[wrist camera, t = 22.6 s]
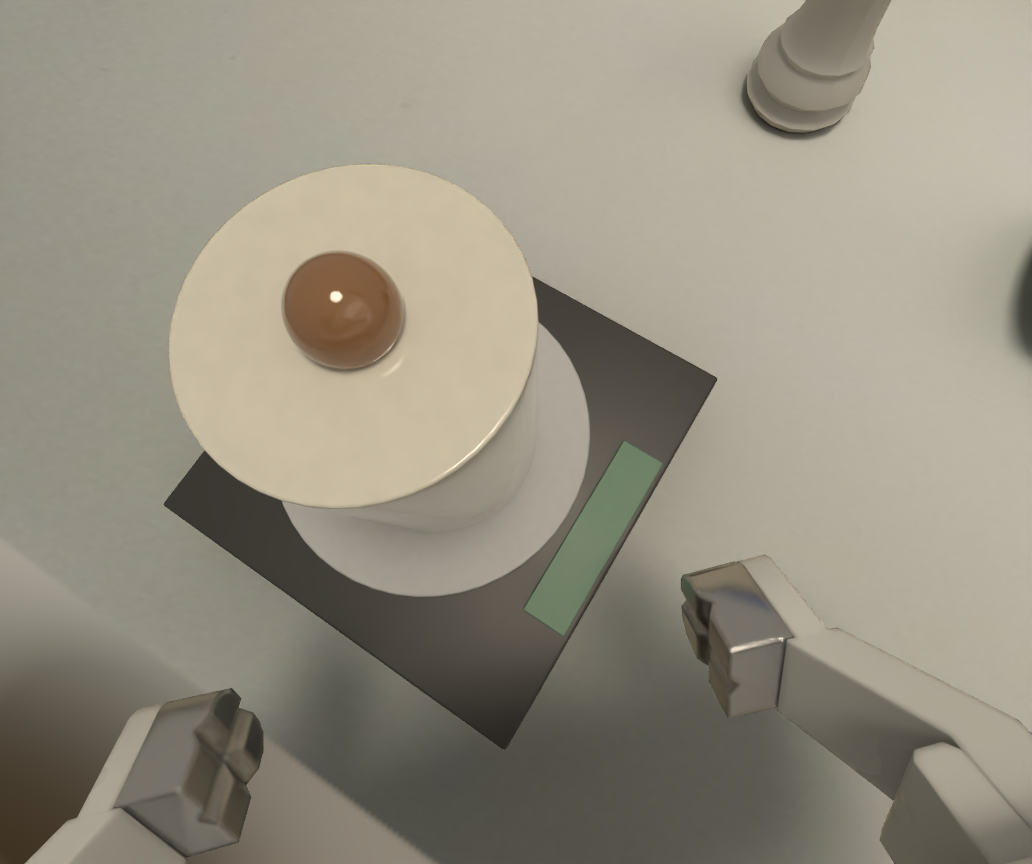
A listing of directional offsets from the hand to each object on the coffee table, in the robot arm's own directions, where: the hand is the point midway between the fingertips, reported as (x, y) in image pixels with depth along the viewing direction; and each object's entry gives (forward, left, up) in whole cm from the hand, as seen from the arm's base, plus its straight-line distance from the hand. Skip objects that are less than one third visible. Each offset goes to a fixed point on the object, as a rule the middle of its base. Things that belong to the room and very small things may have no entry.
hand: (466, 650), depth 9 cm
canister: (+6, 0, -6) cm, 8 cm away
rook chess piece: (+17, -17, -9) cm, 26 cm away
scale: (+6, 0, -8) cm, 10 cm away
